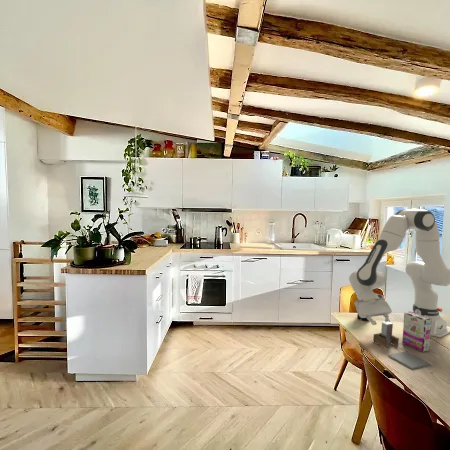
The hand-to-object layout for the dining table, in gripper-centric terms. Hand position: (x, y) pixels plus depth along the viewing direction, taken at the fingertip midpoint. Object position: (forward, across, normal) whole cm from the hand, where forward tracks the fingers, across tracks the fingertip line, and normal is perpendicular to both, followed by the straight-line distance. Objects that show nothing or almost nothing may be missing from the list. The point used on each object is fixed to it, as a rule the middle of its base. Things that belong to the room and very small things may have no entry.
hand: (381, 323), depth 156 cm
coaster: (+20, -4, -7) cm, 22 cm away
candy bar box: (+14, +12, 0) cm, 19 cm away
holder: (+9, 0, +4) cm, 10 cm away
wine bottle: (-12, +16, +26) cm, 33 cm away
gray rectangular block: (+9, 0, +4) cm, 10 cm away
